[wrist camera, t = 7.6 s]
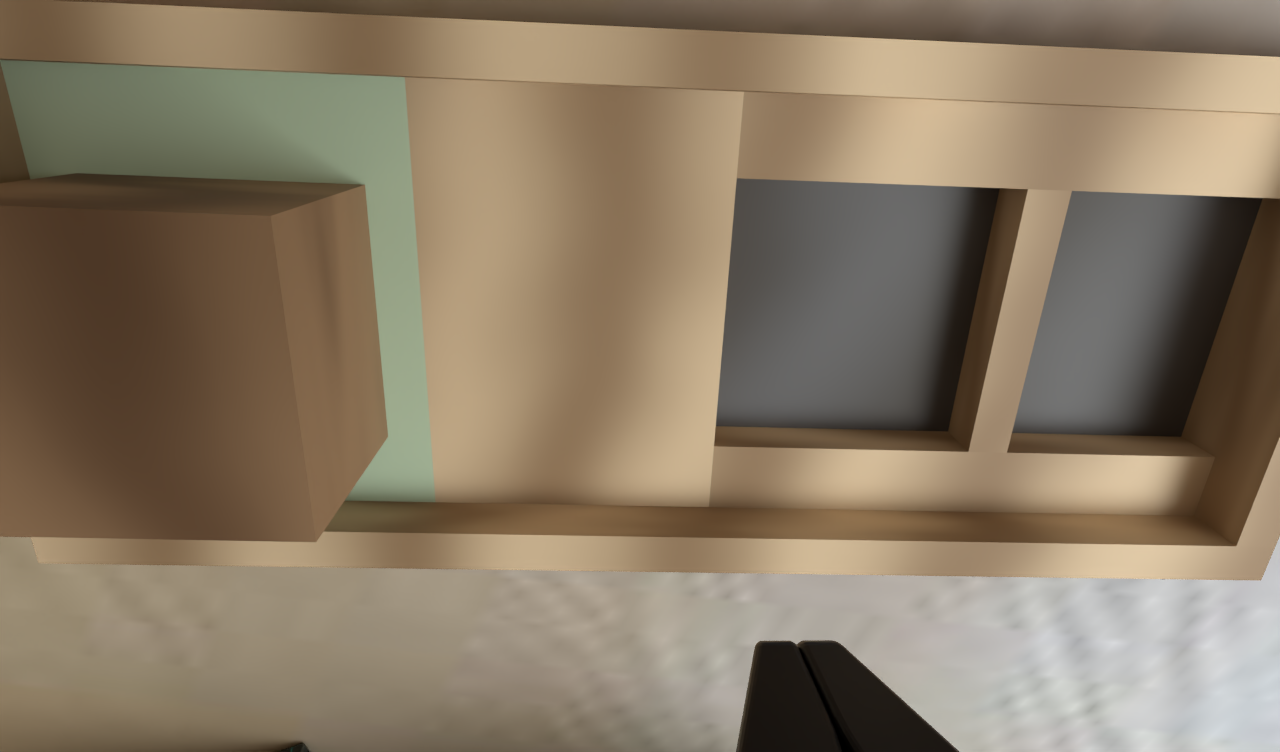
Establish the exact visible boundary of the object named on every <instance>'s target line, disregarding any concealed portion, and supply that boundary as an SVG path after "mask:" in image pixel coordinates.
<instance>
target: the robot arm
mask: <svg viewBox="0 0 1280 752" xmlns="http://www.w3.org/2000/svg"><path fill="white" fill-rule="evenodd" d="M736 752H959V751H958V750H957V749H956V748H955V747H954V746H953V745H951V744H950V743H949V742H948V741H947V740H946V739H945V738H944V737H943V736H942V735H940V734H939V733H938V732H937V731H936V730H935V729H934V728H933V727H932V726H931V725H929V724H928V723H927V722H926V721H925V720H924V719H923V718H922V717H921V716H919V715H918V714H917V713H916V712H915V711H914V710H913V709H912V708H911V707H910V706H908V705H907V704H906V703H905V702H904V701H903V700H902V699H901V698H900V697H899V696H897V695H896V694H895V693H894V692H893V691H892V690H891V689H890V688H889V687H888V686H886V685H885V684H884V683H883V682H882V681H881V680H880V679H879V678H878V677H877V676H875V675H874V674H873V673H872V672H871V671H870V670H869V669H868V668H867V667H866V666H864V665H863V664H862V663H861V662H860V661H859V660H858V659H857V658H856V657H854V656H853V655H852V654H851V653H850V652H849V651H848V650H847V649H846V648H845V647H843V646H842V645H841V644H839V643H838V642H836V641H831V640H825V641H801V642H800V643H798V644H797V645H796V644H795V643H793V642H792V641H760V642H758V643H757V644H756V646H755V649H754V655H753V660H752V666H751V672H750V677H749V683H748V688H747V694H746V699H745V705H744V711H743V716H742V722H741V727H740V733H739V738H738V744H737V750H736Z"/></svg>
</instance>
